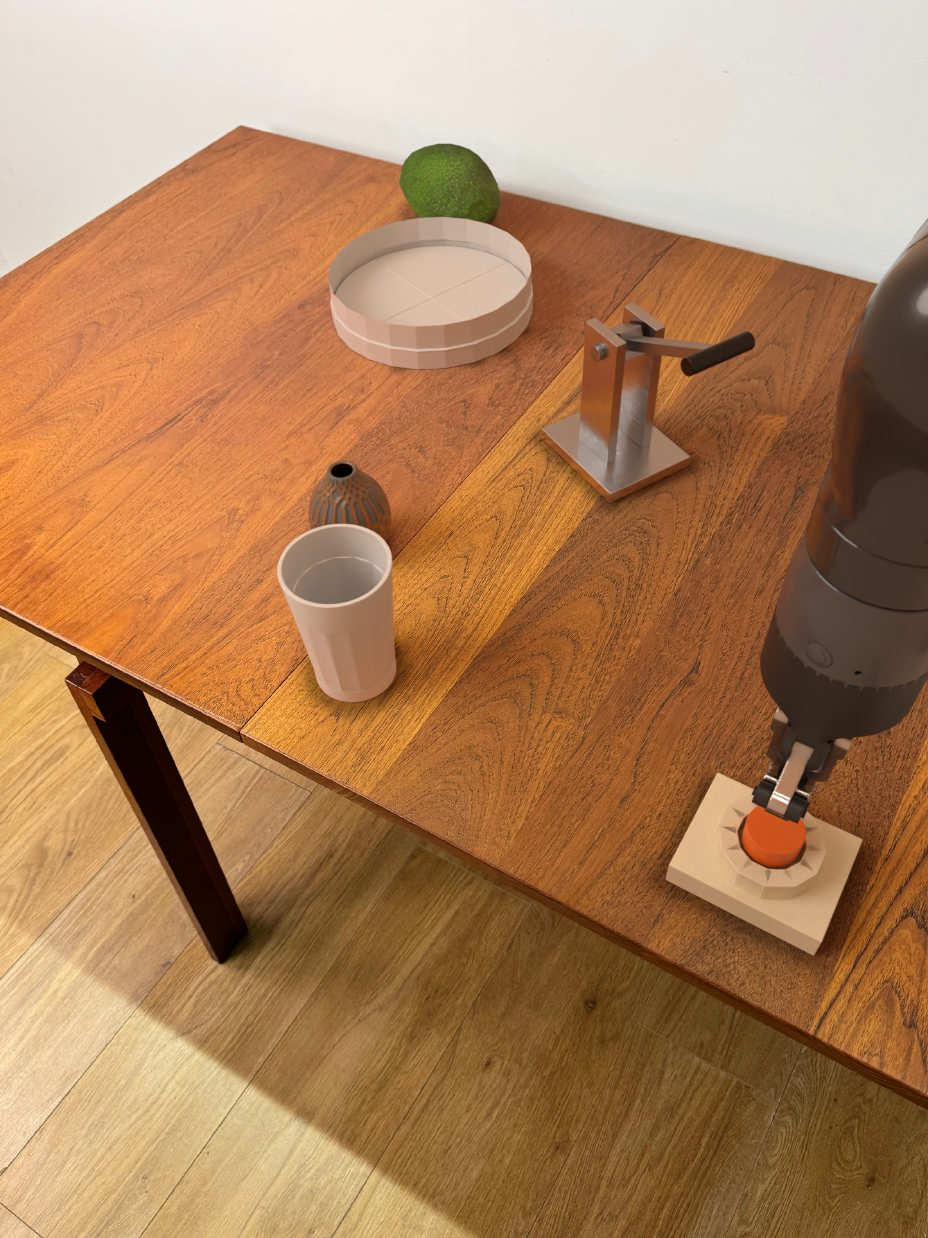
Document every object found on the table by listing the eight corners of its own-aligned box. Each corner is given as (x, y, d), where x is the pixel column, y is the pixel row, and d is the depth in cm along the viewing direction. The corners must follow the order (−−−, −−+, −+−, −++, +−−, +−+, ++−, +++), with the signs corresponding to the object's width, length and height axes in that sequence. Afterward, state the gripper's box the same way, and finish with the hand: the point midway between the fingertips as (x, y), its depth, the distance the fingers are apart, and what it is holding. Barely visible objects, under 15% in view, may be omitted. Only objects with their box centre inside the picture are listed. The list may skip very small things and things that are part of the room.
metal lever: (757, 356, 75) (753, 325, 74) (695, 384, 73) (690, 352, 72) (644, 342, 87) (639, 315, 86) (588, 366, 85) (582, 338, 84)
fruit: (384, 213, 124) (375, 131, 117) (452, 190, 127) (448, 109, 120) (444, 266, 116) (439, 182, 108) (516, 240, 119) (516, 157, 111)
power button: (808, 832, 63) (814, 819, 62) (788, 877, 61) (794, 864, 60) (754, 807, 65) (759, 793, 63) (732, 850, 63) (737, 837, 61)
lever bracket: (689, 466, 92) (711, 337, 81) (609, 503, 89) (622, 375, 78) (616, 404, 98) (628, 277, 87) (540, 438, 95) (543, 310, 85)
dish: (294, 305, 112) (286, 264, 108) (449, 236, 120) (447, 196, 116) (412, 397, 100) (408, 354, 96) (575, 313, 108) (577, 271, 105)
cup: (426, 653, 79) (414, 546, 70) (369, 727, 74) (348, 623, 65) (343, 616, 82) (321, 509, 72) (284, 685, 77) (253, 580, 68)
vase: (364, 507, 90) (351, 430, 83) (410, 548, 86) (401, 471, 80) (300, 543, 87) (282, 467, 81) (345, 587, 84) (330, 511, 77)
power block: (854, 855, 66) (870, 825, 63) (813, 956, 62) (828, 930, 59) (712, 788, 70) (721, 757, 67) (665, 880, 66) (672, 851, 62)
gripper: (900, 758, 41) (804, 928, 55) (978, 558, 48) (877, 751, 62) (729, 685, 44) (677, 864, 57) (827, 505, 51) (761, 701, 64)
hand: (781, 805), depth 60 cm, fingers closed
